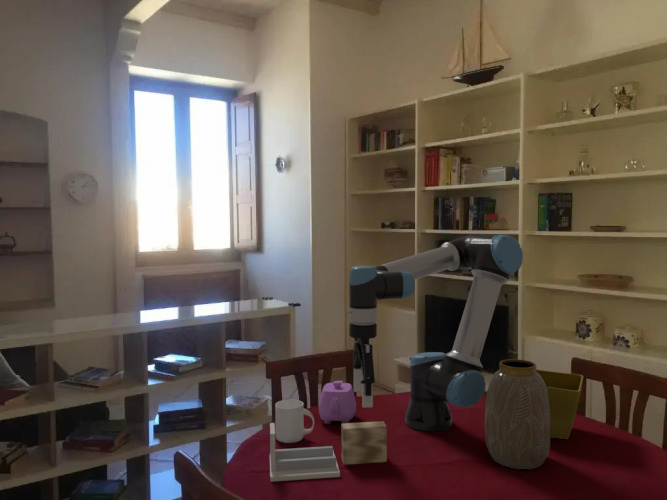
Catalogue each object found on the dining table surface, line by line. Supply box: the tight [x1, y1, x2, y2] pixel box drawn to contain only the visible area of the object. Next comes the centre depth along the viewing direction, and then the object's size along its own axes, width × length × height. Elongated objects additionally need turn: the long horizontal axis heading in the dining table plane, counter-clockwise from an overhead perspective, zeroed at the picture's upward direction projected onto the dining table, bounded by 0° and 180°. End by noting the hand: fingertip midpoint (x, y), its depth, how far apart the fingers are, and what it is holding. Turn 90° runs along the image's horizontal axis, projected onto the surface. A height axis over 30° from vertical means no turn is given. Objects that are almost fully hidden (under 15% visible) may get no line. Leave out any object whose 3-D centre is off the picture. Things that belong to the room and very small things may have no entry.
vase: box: [484, 358, 552, 470], centre depth 152 cm, size 17×17×27 cm
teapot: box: [318, 380, 357, 424], centre depth 184 cm, size 20×12×13 cm, turn 174°
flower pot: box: [536, 369, 584, 440], centre depth 173 cm, size 19×19×17 cm
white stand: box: [269, 422, 341, 483], centre depth 149 cm, size 18×14×11 cm
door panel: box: [340, 420, 388, 465], centre depth 153 cm, size 12×4×10 cm, turn 98°
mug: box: [274, 398, 315, 444], centre depth 168 cm, size 9×12×11 cm
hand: (362, 398), depth 152 cm, fingers open, 13 cm apart
